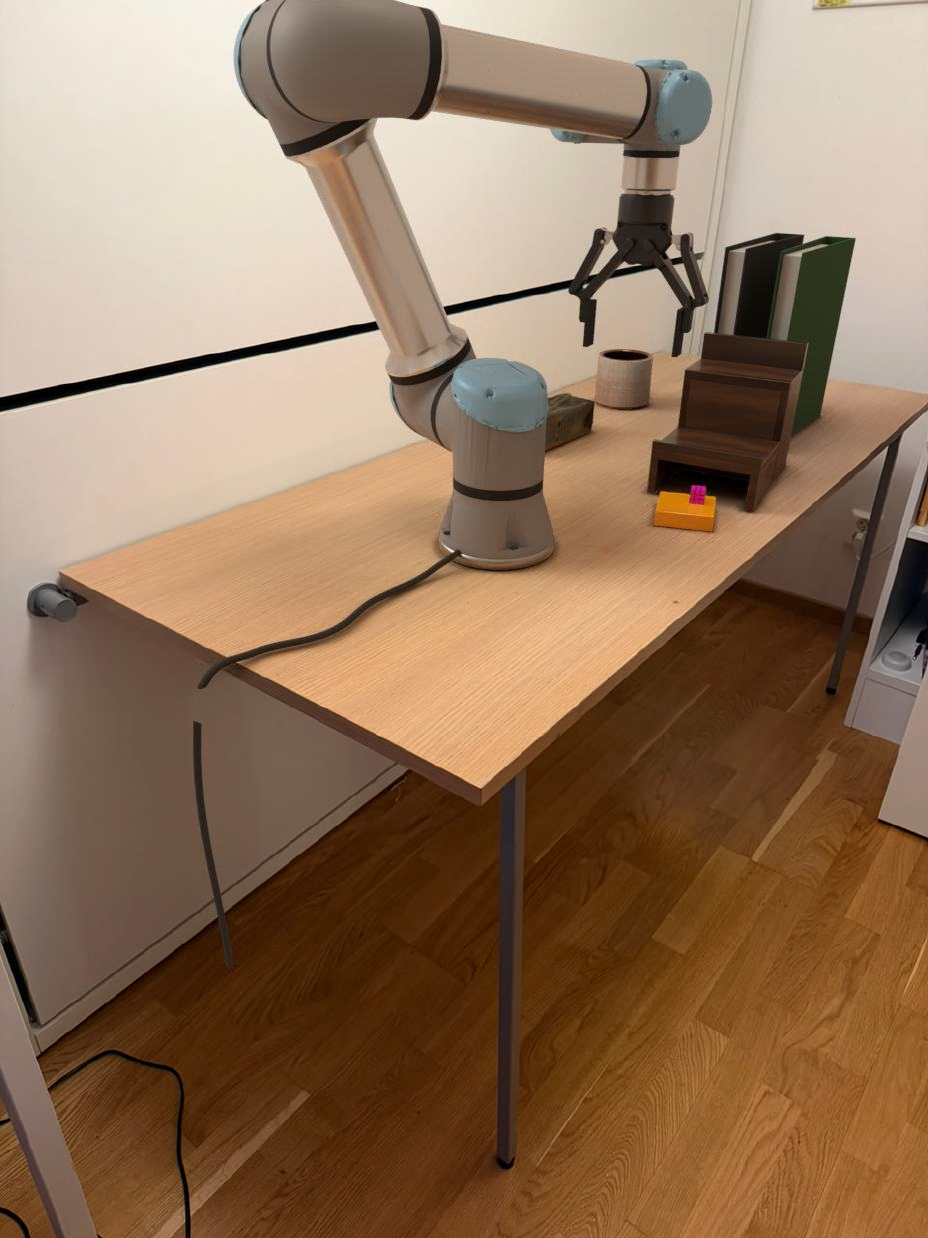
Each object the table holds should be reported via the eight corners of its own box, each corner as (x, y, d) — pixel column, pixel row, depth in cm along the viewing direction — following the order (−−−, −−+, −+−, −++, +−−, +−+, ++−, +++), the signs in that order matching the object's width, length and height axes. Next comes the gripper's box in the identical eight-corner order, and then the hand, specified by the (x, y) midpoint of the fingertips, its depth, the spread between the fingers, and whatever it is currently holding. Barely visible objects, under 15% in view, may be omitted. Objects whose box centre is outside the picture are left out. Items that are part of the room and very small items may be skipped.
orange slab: (712, 532, 123) (716, 503, 121) (653, 525, 125) (657, 497, 123) (714, 510, 130) (718, 483, 128) (658, 505, 132) (661, 477, 130)
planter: (584, 399, 183) (587, 351, 178) (628, 393, 187) (633, 346, 182) (613, 412, 174) (617, 363, 170) (659, 406, 178) (665, 357, 174)
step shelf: (752, 512, 130) (776, 373, 120) (646, 492, 136) (661, 360, 127) (785, 466, 147) (808, 342, 138) (690, 450, 154) (706, 331, 144)
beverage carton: (594, 432, 163) (597, 396, 160) (533, 459, 150) (535, 420, 147) (558, 423, 167) (560, 388, 164) (496, 449, 154) (496, 411, 151)
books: (773, 453, 153) (809, 253, 138) (691, 437, 160) (716, 246, 145) (819, 416, 172) (855, 237, 157) (745, 404, 180) (772, 232, 164)
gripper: (745, 194, 121) (721, 354, 131) (571, 187, 130) (562, 336, 141) (733, 197, 115) (709, 364, 125) (552, 189, 124) (544, 345, 135)
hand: (631, 350), depth 133 cm, fingers open, 13 cm apart
